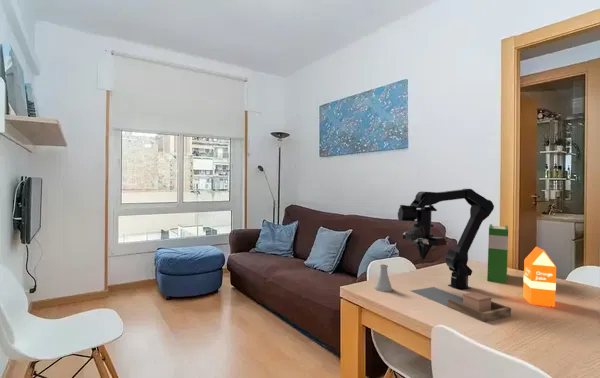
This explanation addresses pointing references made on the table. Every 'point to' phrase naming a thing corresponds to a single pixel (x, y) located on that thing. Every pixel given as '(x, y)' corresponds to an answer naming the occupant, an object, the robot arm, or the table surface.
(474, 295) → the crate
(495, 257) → the hardback book
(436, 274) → the table surface
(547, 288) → the orange juice
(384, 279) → the flask
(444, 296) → the runner mat
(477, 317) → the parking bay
